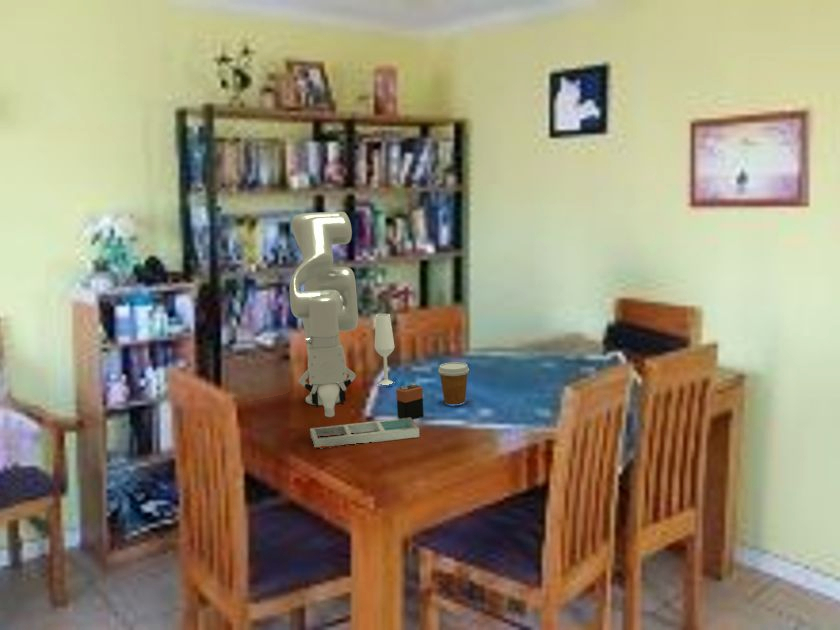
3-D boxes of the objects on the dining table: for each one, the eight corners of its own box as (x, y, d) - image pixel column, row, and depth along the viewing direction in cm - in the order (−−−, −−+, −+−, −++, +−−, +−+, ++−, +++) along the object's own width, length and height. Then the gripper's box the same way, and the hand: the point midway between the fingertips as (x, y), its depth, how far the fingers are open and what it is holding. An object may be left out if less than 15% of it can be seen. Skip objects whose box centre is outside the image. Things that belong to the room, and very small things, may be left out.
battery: (424, 416, 254) (422, 383, 252) (405, 421, 250) (404, 388, 248) (415, 413, 258) (413, 381, 256) (397, 418, 254) (395, 385, 252)
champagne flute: (398, 382, 293) (395, 313, 288) (393, 387, 286) (390, 317, 282) (379, 381, 294) (376, 313, 290) (374, 387, 288) (370, 316, 283)
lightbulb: (331, 411, 240) (329, 374, 238) (346, 416, 236) (344, 378, 233) (313, 417, 236) (311, 379, 233) (328, 422, 231) (325, 383, 229)
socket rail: (310, 437, 240) (310, 428, 239) (411, 425, 246) (410, 417, 246) (314, 449, 230) (314, 440, 230) (419, 437, 236) (418, 428, 236)
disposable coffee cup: (439, 408, 261) (438, 370, 259) (439, 399, 271) (437, 362, 268) (471, 407, 261) (470, 368, 259) (469, 398, 271) (468, 361, 268)
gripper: (294, 347, 226) (298, 412, 229) (359, 341, 229) (362, 405, 233) (291, 341, 233) (296, 404, 237) (354, 335, 236) (358, 397, 240)
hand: (329, 404), depth 235 cm, fingers closed on lightbulb, 6 cm apart
